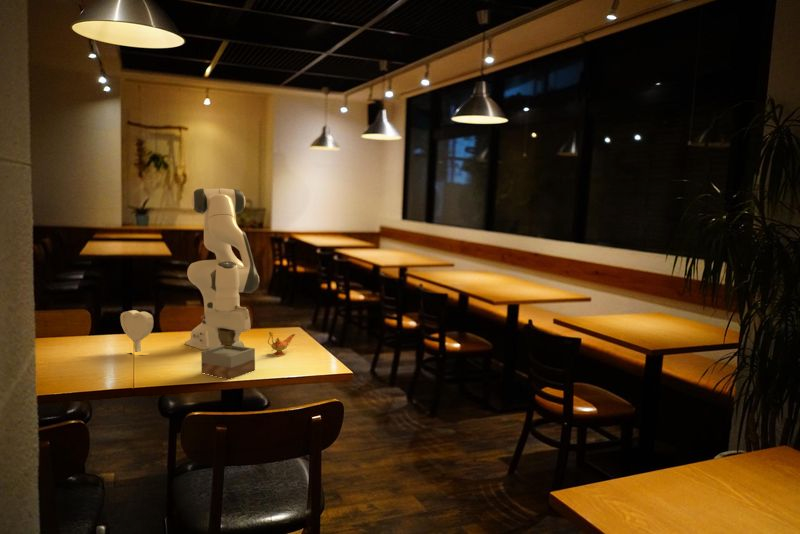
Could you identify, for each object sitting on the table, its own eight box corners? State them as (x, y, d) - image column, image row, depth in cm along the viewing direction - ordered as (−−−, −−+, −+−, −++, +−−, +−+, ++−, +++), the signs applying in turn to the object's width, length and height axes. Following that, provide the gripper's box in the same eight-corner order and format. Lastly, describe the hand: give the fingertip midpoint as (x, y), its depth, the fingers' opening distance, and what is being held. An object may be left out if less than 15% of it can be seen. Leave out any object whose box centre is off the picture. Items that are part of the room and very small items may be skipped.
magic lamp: (301, 349, 266) (301, 325, 265) (274, 359, 251) (274, 333, 249) (288, 347, 270) (289, 323, 268) (261, 356, 254) (261, 331, 252)
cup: (232, 351, 225) (232, 330, 224) (214, 349, 227) (214, 329, 226) (241, 346, 233) (241, 326, 232) (223, 345, 234) (223, 325, 233)
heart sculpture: (119, 352, 255) (118, 310, 253) (129, 349, 260) (128, 308, 257) (146, 357, 248) (145, 314, 246) (155, 354, 253) (154, 312, 251)
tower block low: (201, 374, 228) (201, 362, 227) (228, 366, 240) (228, 354, 240) (228, 381, 221) (228, 368, 221) (254, 371, 234) (254, 359, 233)
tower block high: (201, 362, 227) (201, 351, 226) (226, 354, 239) (226, 343, 239) (230, 367, 221) (230, 356, 221) (254, 358, 234) (254, 348, 233)
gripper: (254, 306, 225) (254, 342, 227) (214, 300, 235) (215, 335, 237) (242, 308, 220) (242, 345, 222) (202, 302, 230) (202, 338, 231)
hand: (228, 340), depth 229 cm, fingers closed on cup, 7 cm apart
